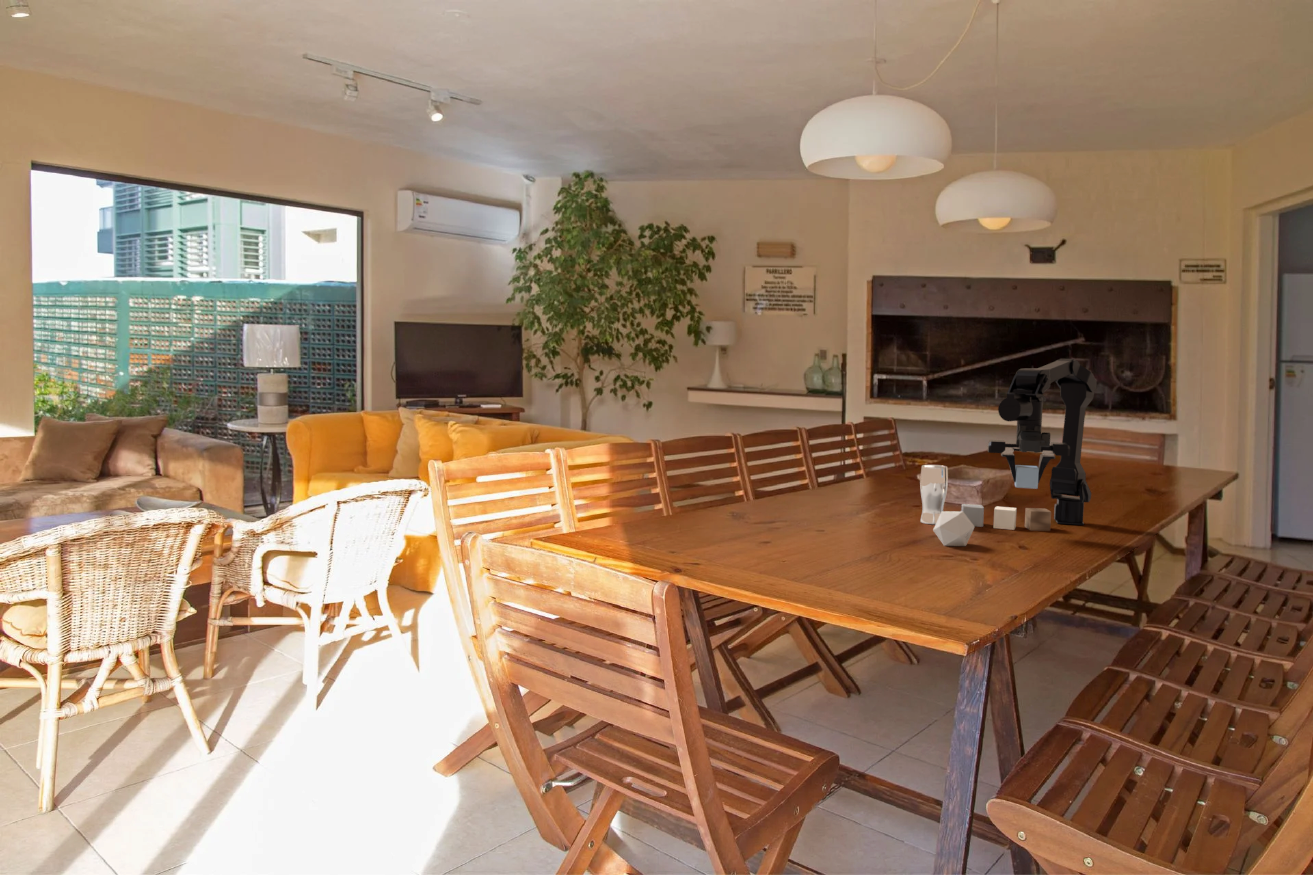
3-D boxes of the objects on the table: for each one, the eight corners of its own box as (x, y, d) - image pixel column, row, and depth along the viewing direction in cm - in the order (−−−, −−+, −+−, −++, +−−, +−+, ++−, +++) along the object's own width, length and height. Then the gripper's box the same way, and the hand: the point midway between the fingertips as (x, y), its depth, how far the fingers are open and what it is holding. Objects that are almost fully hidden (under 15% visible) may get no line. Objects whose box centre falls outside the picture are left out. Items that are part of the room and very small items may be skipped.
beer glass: (949, 525, 247) (951, 468, 246) (922, 524, 247) (924, 467, 246) (941, 520, 254) (944, 464, 253) (915, 519, 254) (917, 464, 253)
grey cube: (980, 523, 251) (981, 504, 250) (983, 527, 246) (983, 508, 245) (960, 522, 252) (961, 504, 251) (962, 526, 247) (963, 507, 246)
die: (966, 553, 217) (985, 517, 219) (933, 533, 218) (952, 498, 220) (954, 558, 224) (973, 524, 227) (922, 538, 226) (941, 505, 228)
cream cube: (1015, 526, 247) (1016, 507, 246) (1013, 530, 242) (1014, 510, 242) (995, 525, 249) (996, 506, 248) (993, 528, 244) (994, 509, 244)
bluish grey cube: (1035, 485, 237) (1036, 466, 237) (1037, 488, 232) (1038, 468, 232) (1014, 484, 239) (1015, 465, 238) (1015, 487, 234) (1016, 467, 233)
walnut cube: (1044, 527, 246) (1045, 508, 246) (1050, 531, 241) (1051, 511, 241) (1024, 526, 247) (1025, 507, 246) (1029, 530, 242) (1030, 511, 241)
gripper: (990, 420, 229) (987, 484, 230) (1074, 423, 224) (1070, 489, 225) (988, 417, 240) (985, 478, 241) (1068, 420, 234) (1065, 482, 236)
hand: (1026, 482), depth 235 cm, fingers closed on bluish grey cube, 5 cm apart
